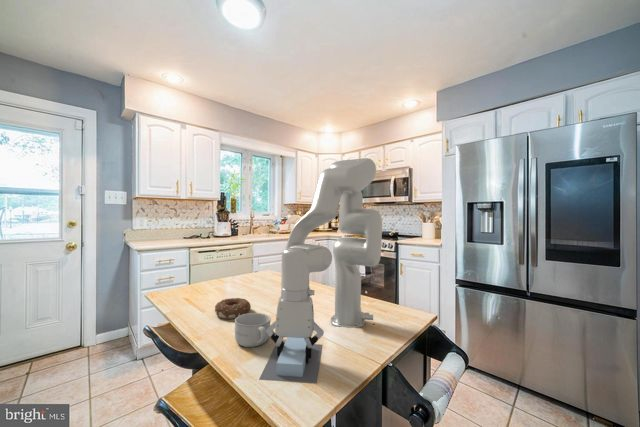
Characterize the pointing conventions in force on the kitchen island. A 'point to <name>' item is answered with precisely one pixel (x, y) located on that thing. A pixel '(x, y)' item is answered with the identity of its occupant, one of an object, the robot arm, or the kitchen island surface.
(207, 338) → the kitchen island surface
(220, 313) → the donut
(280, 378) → the mat
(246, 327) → the teacup
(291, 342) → the light blue block
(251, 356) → the kitchen island surface
